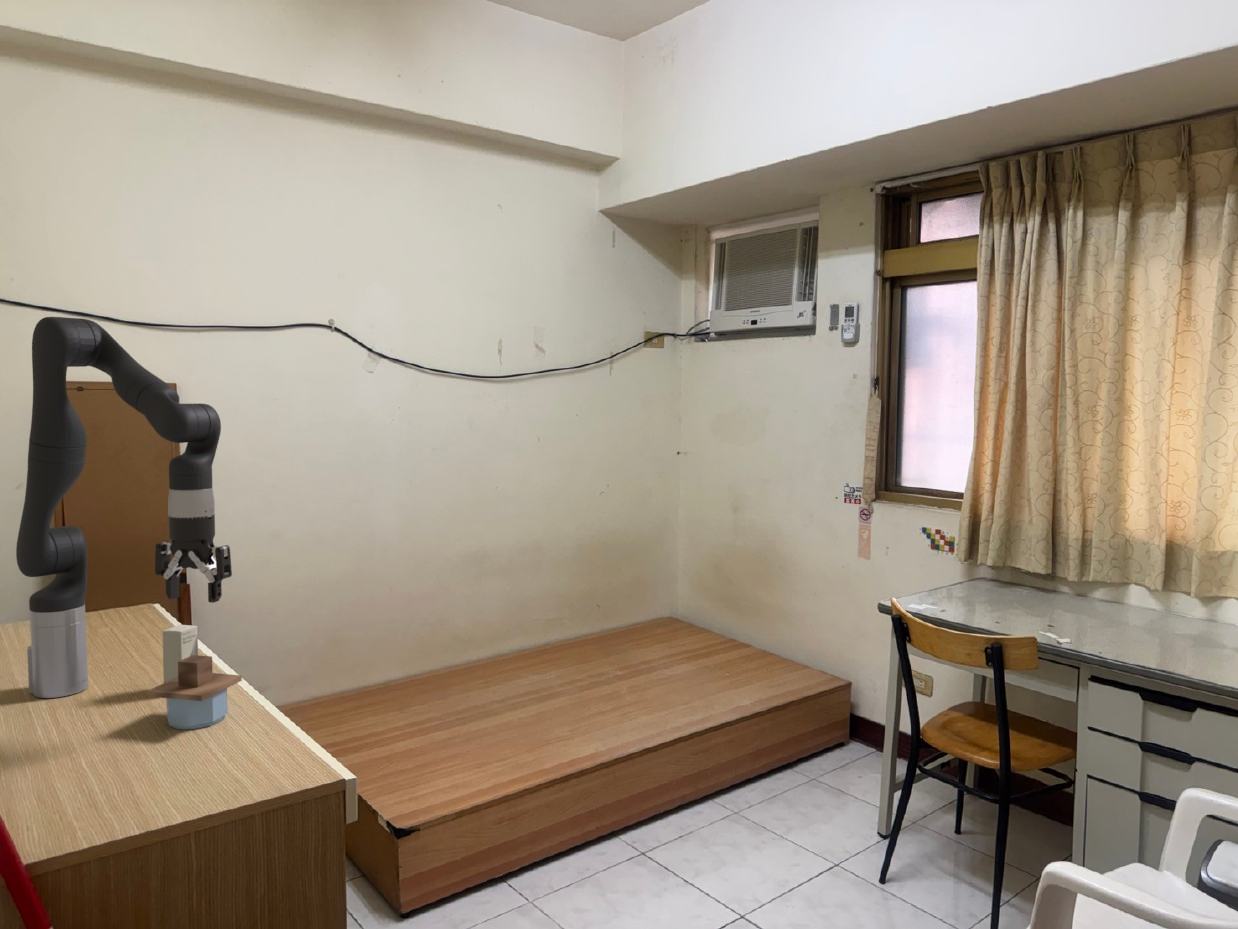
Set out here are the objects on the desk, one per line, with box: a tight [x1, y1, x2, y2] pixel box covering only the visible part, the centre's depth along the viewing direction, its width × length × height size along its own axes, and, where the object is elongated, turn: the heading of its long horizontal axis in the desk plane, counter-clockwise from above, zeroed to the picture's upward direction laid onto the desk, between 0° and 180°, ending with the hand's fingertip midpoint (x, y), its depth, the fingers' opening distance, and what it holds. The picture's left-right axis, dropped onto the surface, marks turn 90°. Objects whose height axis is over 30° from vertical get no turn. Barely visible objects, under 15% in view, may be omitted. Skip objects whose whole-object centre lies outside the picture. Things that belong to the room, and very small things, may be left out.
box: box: [162, 624, 199, 683], centre depth 168 cm, size 5×4×13 cm
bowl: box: [165, 688, 229, 731], centre depth 153 cm, size 10×10×6 cm
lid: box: [147, 654, 243, 701], centre depth 152 cm, size 11×11×6 cm
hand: (194, 600), depth 152 cm, fingers open, 8 cm apart
